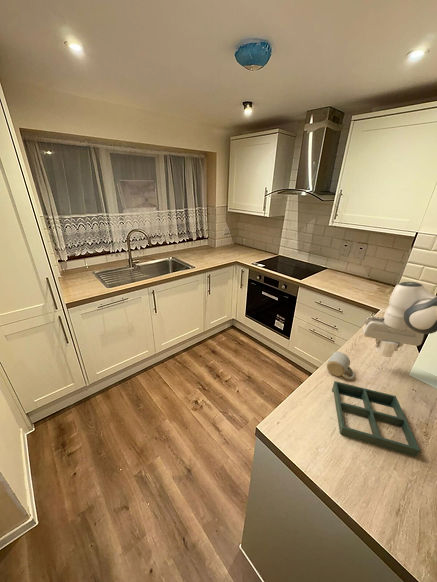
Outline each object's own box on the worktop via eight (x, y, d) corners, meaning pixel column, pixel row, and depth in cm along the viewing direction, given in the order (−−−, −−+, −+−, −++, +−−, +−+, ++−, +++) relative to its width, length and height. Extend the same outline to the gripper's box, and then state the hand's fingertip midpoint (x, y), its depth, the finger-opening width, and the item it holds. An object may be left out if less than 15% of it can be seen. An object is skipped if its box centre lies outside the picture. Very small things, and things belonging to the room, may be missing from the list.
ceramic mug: (323, 371, 101) (328, 357, 97) (329, 362, 106) (333, 348, 103) (350, 384, 95) (356, 370, 91) (355, 373, 100) (360, 359, 97)
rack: (391, 404, 86) (395, 395, 84) (414, 460, 68) (420, 450, 66) (331, 389, 92) (334, 380, 90) (338, 437, 74) (342, 427, 72)
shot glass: (378, 345, 104) (382, 332, 101) (396, 353, 99) (401, 340, 97) (372, 351, 100) (376, 338, 97) (390, 360, 95) (396, 346, 93)
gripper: (368, 319, 94) (359, 347, 99) (430, 329, 88) (417, 358, 93) (365, 312, 99) (357, 339, 105) (423, 320, 93) (411, 349, 99)
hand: (385, 348), depth 99 cm, fingers closed on shot glass, 5 cm apart
